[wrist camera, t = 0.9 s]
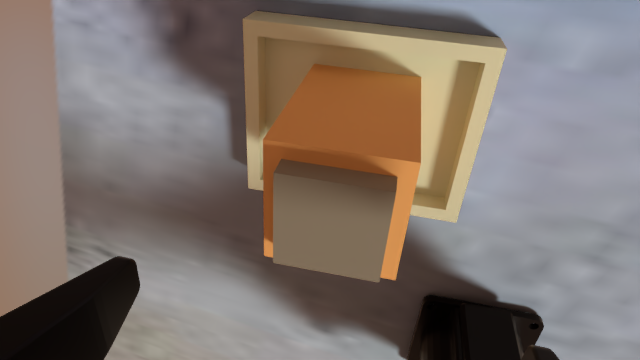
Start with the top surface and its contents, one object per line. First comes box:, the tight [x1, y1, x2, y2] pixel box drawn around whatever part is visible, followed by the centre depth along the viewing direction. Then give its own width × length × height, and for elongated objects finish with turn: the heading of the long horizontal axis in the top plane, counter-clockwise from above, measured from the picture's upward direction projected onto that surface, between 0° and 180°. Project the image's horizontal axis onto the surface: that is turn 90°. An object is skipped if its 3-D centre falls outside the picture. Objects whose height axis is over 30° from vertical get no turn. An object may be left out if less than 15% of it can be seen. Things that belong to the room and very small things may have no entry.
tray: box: [243, 11, 507, 223], centre depth 19 cm, size 8×10×2 cm
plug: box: [263, 64, 421, 283], centre depth 16 cm, size 4×4×8 cm
